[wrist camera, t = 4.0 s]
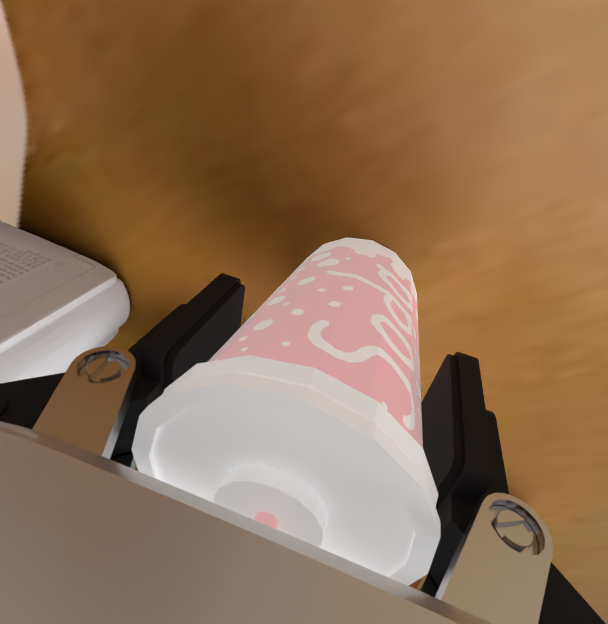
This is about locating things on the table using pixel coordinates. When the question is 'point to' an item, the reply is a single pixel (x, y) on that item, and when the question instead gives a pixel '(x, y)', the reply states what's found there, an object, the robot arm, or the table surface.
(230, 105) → the table surface
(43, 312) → the photo printer
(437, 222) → the table surface
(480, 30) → the table surface
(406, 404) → the beverage cup
